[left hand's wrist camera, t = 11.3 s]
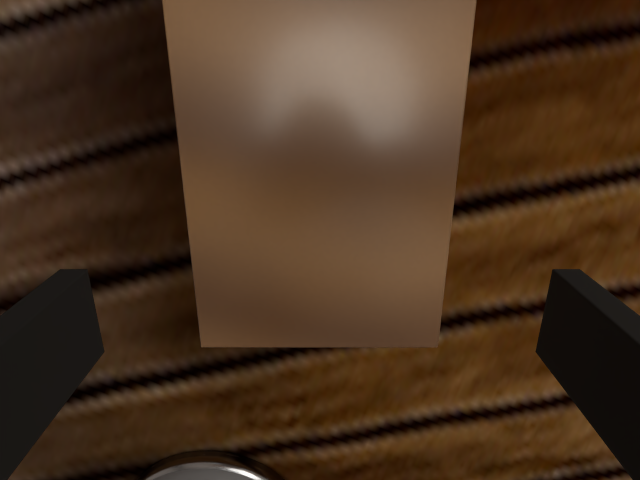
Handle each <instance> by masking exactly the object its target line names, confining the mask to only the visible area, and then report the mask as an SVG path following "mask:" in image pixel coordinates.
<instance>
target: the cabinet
mask: <svg viewBox="0 0 640 480" xmlns="http://www.w3.org/2000/svg"><path fill="white" fill-rule="evenodd" d="M162 4H163V13H164V22H165V31H166V40H167V49H168V58H169V66H170V75H171V84H172V93H173V102H174V111H175V120H176V128H177V137H178V146H179V155H180V164H181V173H182V182H183V191H184V199H185V208H186V217H187V226H188V235H189V244H190V253H191V261H192V270H193V279H194V288H195V297H196V306H197V315H198V324H199V332H200V341H201V347H438V341H439V332H440V323H441V314H442V305H443V296H444V287H445V278H446V269H447V260H448V251H449V242H450V233H451V224H452V215H453V206H454V197H455V188H456V179H457V170H458V161H459V152H460V143H461V134H462V125H463V116H464V107H465V98H466V89H467V80H468V71H469V62H470V53H471V44H472V35H473V26H474V17H475V8H476V0H162Z"/></svg>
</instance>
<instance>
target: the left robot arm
mask: <svg viewBox="0 0 640 480" xmlns="http://www.w3.org/2000/svg"><path fill="white" fill-rule="evenodd" d="M103 353H104V348H103V343H102V338H101V333H100V328H99V323H98V319H97V314H96V309H95V304H94V299H93V294H92V289H91V285H90V280H89V275H88V270H87V269H60V270H59V271H57V272H56V273H55V274H54V275H52V276H51V277H50V278H48V279H47V280H46V281H45V282H43V283H42V284H41V285H39V286H38V287H37V288H36V289H34V290H33V291H32V292H30V293H29V294H28V295H27V296H25V297H24V298H23V299H21V300H20V301H19V302H18V303H16V304H15V305H14V306H12V307H11V308H10V309H9V310H7V311H6V312H5V313H3V314H2V315H1V316H0V480H7V479H8V478H9V477H10V475H11V474H12V473H13V471H14V470H15V469H16V467H17V466H18V465H19V464H20V462H21V461H22V460H23V458H24V457H25V456H26V454H27V453H28V452H29V450H30V449H31V448H32V446H33V445H34V444H35V442H36V441H37V440H38V438H39V437H40V436H41V435H42V433H43V432H44V431H45V429H46V428H47V427H48V425H49V424H50V423H51V421H52V420H53V419H54V417H55V416H56V415H57V413H58V412H59V411H60V410H61V408H62V407H63V406H64V404H65V403H66V402H67V400H68V399H69V398H70V396H71V395H72V394H73V392H74V391H75V390H76V388H77V387H78V386H79V384H80V383H81V382H82V381H83V379H84V378H85V377H86V375H87V374H88V373H89V371H90V370H91V369H92V367H93V366H94V365H95V363H96V362H97V361H98V359H99V358H100V357H101V355H102V354H103ZM536 353H537V354H538V355H539V357H540V358H541V359H542V361H543V362H544V363H545V365H546V366H547V367H548V369H549V370H550V371H551V373H552V374H553V375H554V377H555V378H556V379H557V381H558V382H559V383H560V384H561V386H562V387H563V388H564V390H565V391H566V392H567V394H568V395H569V396H570V398H571V399H572V400H573V402H574V403H575V404H576V406H577V407H578V408H579V410H580V411H581V412H582V413H583V415H584V416H585V417H586V419H587V420H588V421H589V423H590V424H591V425H592V427H593V428H594V429H595V431H596V432H597V433H598V435H599V436H600V437H601V438H602V440H603V441H604V442H605V444H606V445H607V446H608V448H609V449H610V450H611V452H612V453H613V454H614V456H615V457H616V458H617V460H618V461H619V462H620V464H621V465H622V466H623V467H624V469H625V470H626V471H627V473H628V474H629V475H630V477H631V478H632V479H633V480H640V316H639V315H638V314H637V313H635V312H634V311H633V310H631V309H630V308H629V307H628V306H626V305H625V304H624V303H622V302H621V301H620V300H619V299H617V298H616V297H615V296H613V295H612V294H611V293H610V292H608V291H607V290H606V289H604V288H603V287H602V286H601V285H599V284H598V283H597V282H595V281H594V280H593V279H592V278H590V277H589V276H588V275H586V274H585V273H584V272H583V271H581V270H580V269H553V270H552V275H551V280H550V285H549V289H548V294H547V299H546V304H545V309H544V314H543V319H542V323H541V328H540V333H539V338H538V343H537V348H536ZM137 480H284V479H283V478H282V477H281V476H280V475H278V474H277V473H276V472H275V471H273V470H272V469H270V468H269V467H267V466H265V465H263V464H261V463H259V462H257V461H255V460H252V459H250V458H247V457H244V456H240V455H237V454H232V453H226V452H219V451H197V452H188V453H183V454H179V455H175V456H172V457H169V458H166V459H164V460H162V461H160V462H158V463H156V464H154V465H153V466H151V467H150V468H148V469H147V470H146V471H145V472H144V473H143V474H141V475H140V477H139V478H138V479H137Z"/></svg>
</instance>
